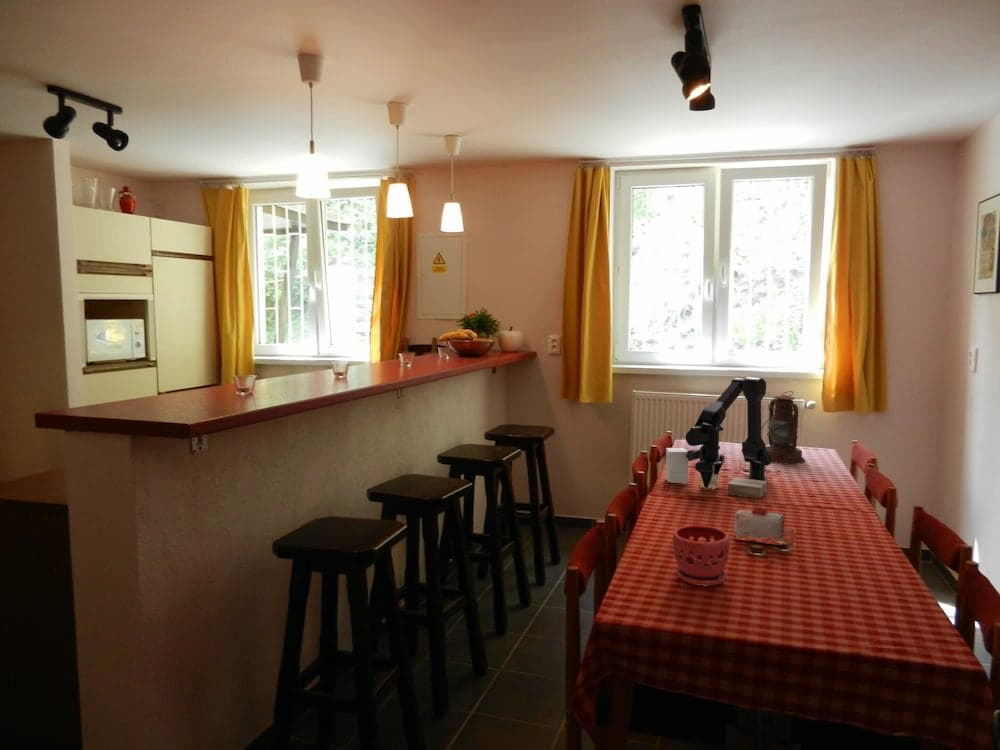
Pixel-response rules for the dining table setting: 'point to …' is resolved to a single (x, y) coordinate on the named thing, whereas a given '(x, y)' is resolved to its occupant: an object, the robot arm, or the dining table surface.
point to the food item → (758, 523)
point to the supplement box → (676, 465)
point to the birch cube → (711, 482)
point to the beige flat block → (747, 487)
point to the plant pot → (701, 554)
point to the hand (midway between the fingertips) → (709, 484)
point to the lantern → (783, 431)
